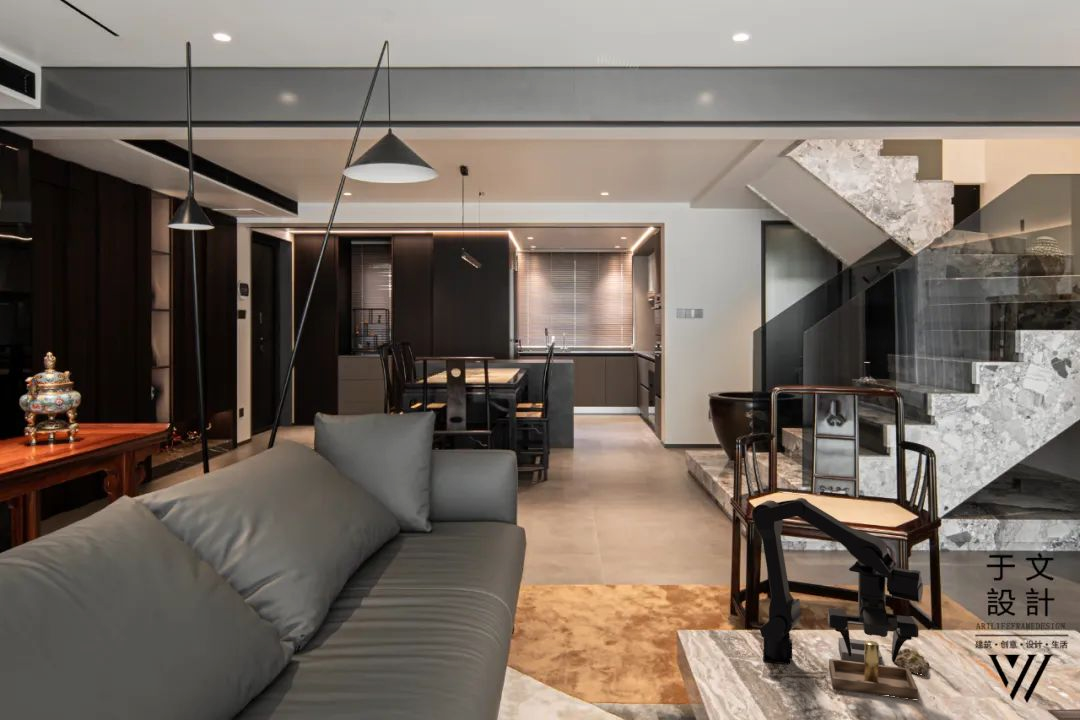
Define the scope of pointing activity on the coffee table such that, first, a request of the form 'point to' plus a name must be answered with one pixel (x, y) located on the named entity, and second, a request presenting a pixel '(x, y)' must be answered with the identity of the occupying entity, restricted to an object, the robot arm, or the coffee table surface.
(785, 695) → the coffee table surface
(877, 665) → the brass pin
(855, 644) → the block
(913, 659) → the mineral rock
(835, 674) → the walnut tray
